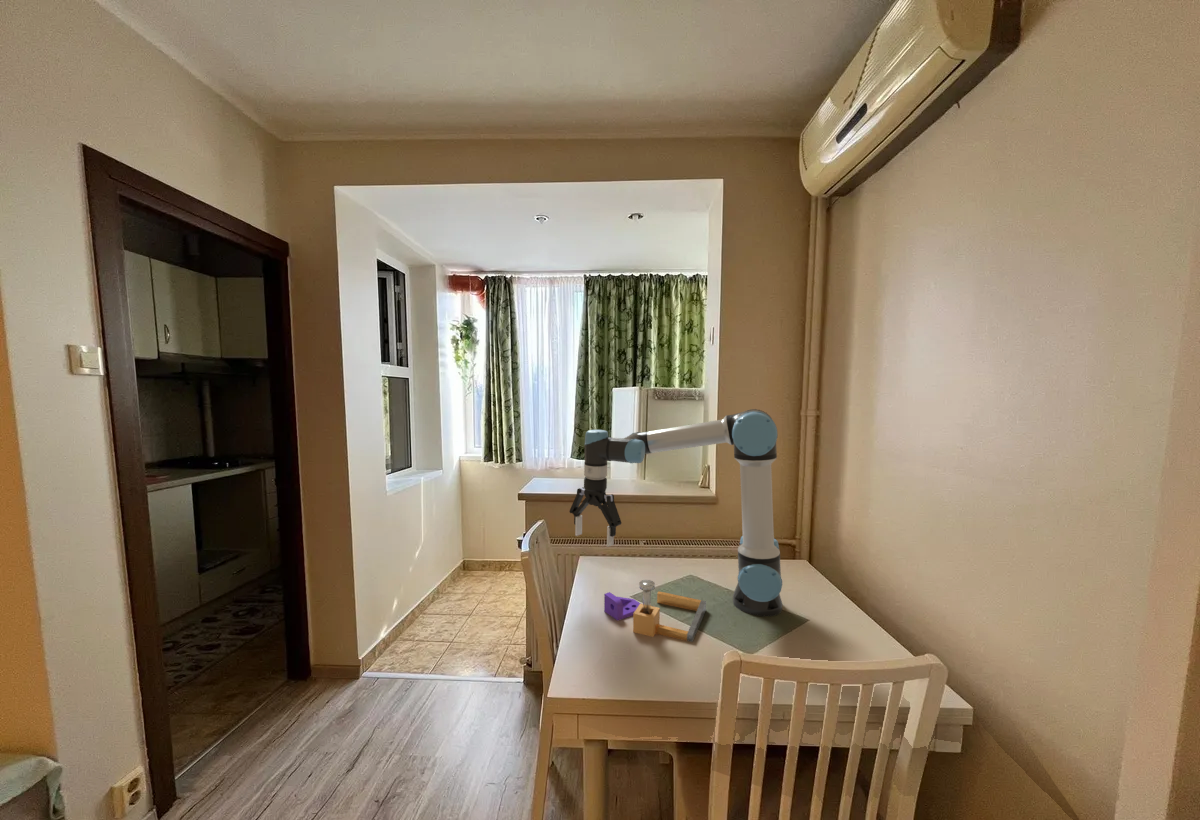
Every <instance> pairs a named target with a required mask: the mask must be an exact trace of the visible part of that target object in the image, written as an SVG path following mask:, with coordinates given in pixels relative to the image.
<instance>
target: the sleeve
mask: <svg viewBox="0 0 1200 820" xmlns="http://www.w3.org/2000/svg"><path fill="white" fill-rule="evenodd" d="M660 613H661V609H660V607H657V606H652V605H651V614H650V615H649V614H644V613H643V603H641V604H640V605H639V606H638V607H637V609H636V610H635V612H634V613H633V615H632V617H633V618H632V625H633V627H632V632H633V633H635V634H638V635H644V636H646V637H651V638H654V637H655V635H656V634H655V630H656V625H657V624H660V622H661V621H660Z"/></svg>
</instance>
